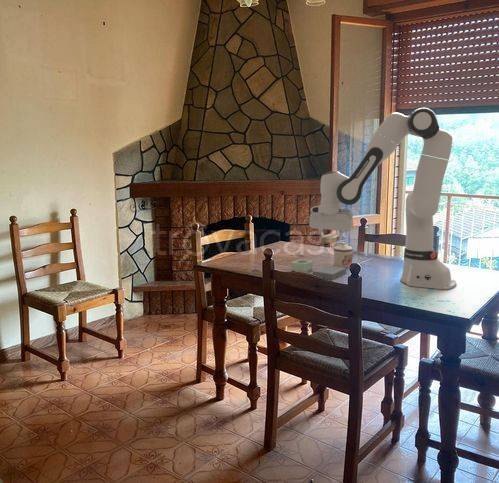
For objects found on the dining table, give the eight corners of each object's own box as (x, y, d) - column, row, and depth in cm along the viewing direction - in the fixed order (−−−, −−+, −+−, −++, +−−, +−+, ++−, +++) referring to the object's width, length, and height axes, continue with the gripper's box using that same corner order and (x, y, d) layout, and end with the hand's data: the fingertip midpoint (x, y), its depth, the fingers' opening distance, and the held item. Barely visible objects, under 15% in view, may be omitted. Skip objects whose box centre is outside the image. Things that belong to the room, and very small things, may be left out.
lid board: (342, 239, 234) (342, 234, 233) (332, 243, 226) (332, 238, 225) (329, 238, 238) (329, 233, 237) (319, 242, 230) (319, 237, 229)
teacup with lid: (343, 269, 244) (344, 245, 242) (329, 266, 251) (329, 242, 249) (360, 265, 252) (361, 241, 249) (345, 262, 259) (346, 239, 256)
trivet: (346, 273, 237) (346, 268, 237) (332, 279, 227) (332, 274, 226) (326, 270, 243) (326, 265, 242) (312, 276, 233) (312, 271, 232)
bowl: (312, 270, 243) (312, 261, 243) (304, 273, 238) (304, 264, 237) (299, 268, 248) (299, 259, 247) (291, 271, 242) (291, 262, 241)
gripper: (355, 208, 225) (355, 240, 228) (314, 206, 237) (314, 236, 240) (349, 210, 220) (349, 242, 223) (307, 208, 232) (307, 238, 235)
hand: (331, 239), depth 232 cm, fingers closed on lid board, 6 cm apart
